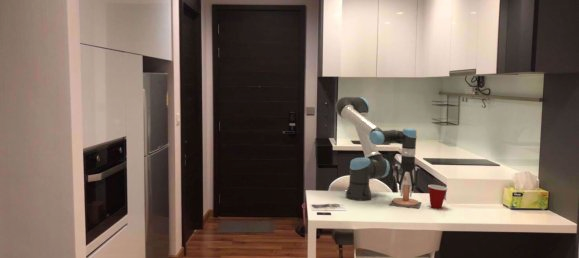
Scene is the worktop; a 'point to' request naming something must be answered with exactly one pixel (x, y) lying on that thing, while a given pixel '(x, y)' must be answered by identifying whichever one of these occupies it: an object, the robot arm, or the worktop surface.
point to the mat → (406, 206)
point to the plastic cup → (437, 195)
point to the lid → (405, 198)
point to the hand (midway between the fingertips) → (406, 196)
